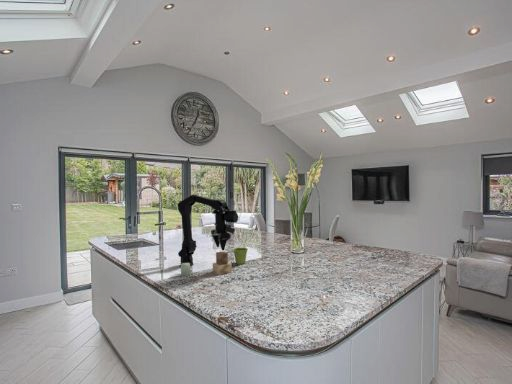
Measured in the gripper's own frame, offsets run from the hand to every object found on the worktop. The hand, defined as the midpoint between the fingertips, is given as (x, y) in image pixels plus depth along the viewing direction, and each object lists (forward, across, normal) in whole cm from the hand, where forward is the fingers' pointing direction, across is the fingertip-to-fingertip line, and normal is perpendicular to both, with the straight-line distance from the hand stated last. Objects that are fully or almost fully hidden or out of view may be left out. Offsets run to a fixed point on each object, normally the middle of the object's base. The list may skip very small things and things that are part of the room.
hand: (220, 248), depth 170 cm
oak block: (+12, -5, +1) cm, 13 cm away
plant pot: (+12, +8, -16) cm, 21 cm away
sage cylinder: (+12, -1, +20) cm, 24 cm away
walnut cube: (+7, -5, +1) cm, 9 cm away
